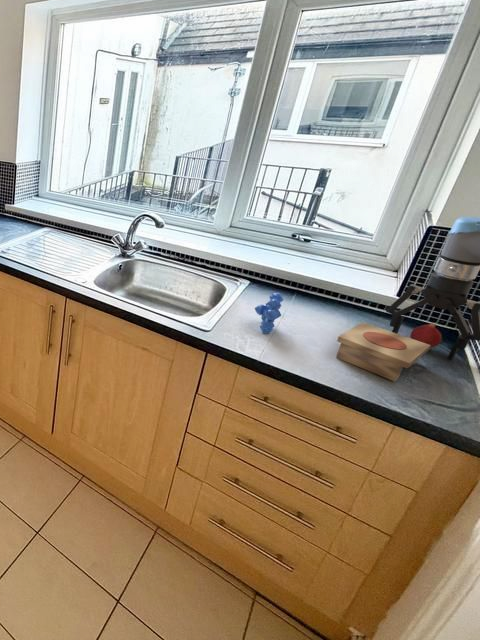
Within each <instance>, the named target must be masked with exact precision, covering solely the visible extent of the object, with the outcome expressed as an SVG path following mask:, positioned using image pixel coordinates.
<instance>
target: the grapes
mask: <svg viewBox="0 0 480 640" xmlns="http://www.w3.org/2000/svg"><path fill="white" fill-rule="evenodd" d="M283 301H284V298H283V295H282V294H281V293H280V292H273V294H270V295H269V301H267V302H266V303H265V305H264V304H259V305H257V306H256V307H254V310H255V313H256V314H257V315H258V316H261V317H260V319H261V322H260V324H261V325H259V327H260V331H261V332H262V333H263V334H270V333H271V332H273V331H274V328H275V320H277V319H279V318H280V317H282V313H281V312H280V309H281V308H282V302H283Z"/></svg>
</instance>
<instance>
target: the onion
mask: <svg viewBox="0 0 480 640" xmlns="http://www.w3.org/2000/svg"><path fill="white" fill-rule="evenodd" d="M436 326H437V324H436V323H430V324H423V325H419V326H416V327H415V328H413V329H412V330H411V332H410V337H409V338H411V339H414V340H417V341H420V342H423V343H426V344H429V345H431V346H430V348H435V347H437V346H439V345H440V344H441V343H442V333H441V332H440V330H439V329H438V328H436Z"/></svg>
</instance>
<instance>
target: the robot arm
mask: <svg viewBox="0 0 480 640" xmlns="http://www.w3.org/2000/svg"><path fill="white" fill-rule="evenodd" d="M479 272H480V217H474V216H462V217H459V218H457V219H456V220H455V221H454V223H453V225H452V226H451V228H450V230H449V231H448V235H447V238H446V240H445V242H444V245H443V247H442V250H441V253H440V254H439V256H438V258H437V260H436V263H435V265H434V267H433V272H432V273H431V274H430V277H429V279H428V281H427V283H426V285H425V286H424V287H423V286H419V285H417V284H415V283H411V284H410V285H409V286H407V289H406V290H405V292H404V293H403V294H401V296H400V297H398V298H397V300H395V301H394V302H393V303H392V304H391V305H389V307H387V308H386V309H385V312H386V313H388V314H390V315H391V316H392V318H391V320H390V322H389V327H392V331H391V332H393V333H396V334H399V331H400V329H401V327H402V324H403V321H404V319H405V316H403V315H405V314H407V313H410V312H413V311H414V310H416V309H418V308H420V307H423V306H425V305H428V306H430V307H432V308H438V309H440V310H443V311H449V314H450V315H451V316H452V319H453V320H454V322H455V324H456V325H455V326H456V327H457V329H458V331H459V333H460V334H459V335H458V336H457V338H456V340H455V341H454V343H453V346H452V348H451V350H450V352H449V353H448V356H447V359H448V360H450V361H452V360H453V359H454V358H455V357H456V355H457V352H458V350H462V351H463V350H465V349H466V348H467V346H468V345H469V342H470V341H471V340H474V341H478V342H479V341H480V300H478V301H475V300H471V299H469V297H468V296H469V293H470V291H471V289H472V287H473V284H474V280H475V279H476V278H477V276H478V274H479ZM418 293H421V295H422V296H423V298H422V299H420V300H419V301H417V302H413V303H412V304H411V305H408V306H406V307H403V308H401V309H400V310H397V308H398V307H400V306H401V305H402V304H404V302H405V301H407V300H408V299H409V298H410V297H411V296H413V294H414V295H415V294H418ZM464 305H467V306H468V309H469V310H470V317H471V325H472V332H471V330H470V327H469V326H468V323H467V322H466V319H465V317H464V315H463V313H462V309H461V307H462V306H464Z"/></svg>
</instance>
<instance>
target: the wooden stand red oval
mask: <svg viewBox="0 0 480 640" xmlns="http://www.w3.org/2000/svg"><path fill="white" fill-rule="evenodd" d="M336 342H338V343H340V346H339V347H338V351H337V353H336V355H335V358H337V359H339V360H340V361H343V362H345V363H348V364H351V365H353V366H355V367H358V368H361V369H363V370H366V371H368V372H370V373H373V374H375V375H378V376H380V377H382V378H385V379H388V380H390V381H391V382H396V381H398V380H399V378H400V376H401V373H402V371H403V370H404V369H403V368H405V369H408V368H410V367H411V366H414V365H416V364H417V363H418V361H419V359H420V358H421V357H422V356H424V355H425V354H426V353H427V352H429V350H430V346H431V345H429V344H426V343H423V342H420V341H417V340H414V339H411V337H408V336H405V335H402V334H399V333H397V334H396V333H393V332H392V331H390V330H388V329H385V328H383V327H382V328H381V327H379V326H375V325H372V324H369V323H366V322H365V321H361V322H360V323H358V324H356V325H355V326H353V327H352V328H350V329H349V330H347V331H345V332H344V333H342V334H340V335H339V336H338V337H337V340H336Z"/></svg>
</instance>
